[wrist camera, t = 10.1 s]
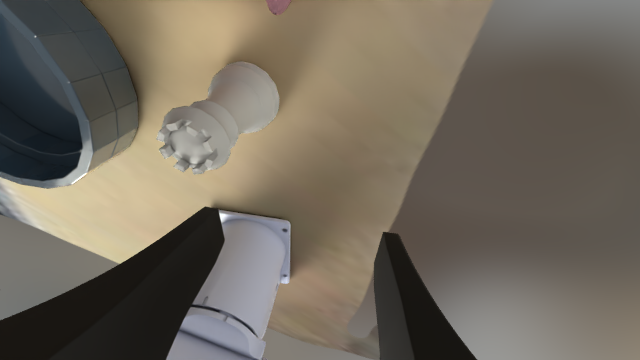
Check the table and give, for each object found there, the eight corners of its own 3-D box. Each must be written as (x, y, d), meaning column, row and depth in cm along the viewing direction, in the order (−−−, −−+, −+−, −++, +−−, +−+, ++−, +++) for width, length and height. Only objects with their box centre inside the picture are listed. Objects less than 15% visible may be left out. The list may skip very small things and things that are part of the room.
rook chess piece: (226, 124, 19) (157, 188, 13) (210, 59, 17) (115, 98, 10) (284, 126, 19) (244, 194, 12) (277, 59, 16) (221, 100, 10)
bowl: (163, 167, 23) (125, 200, 19) (12, 146, 24) (-52, 173, 20) (92, -53, 14) (-1, -71, 11) (-137, -73, 15) (-295, -95, 12)
